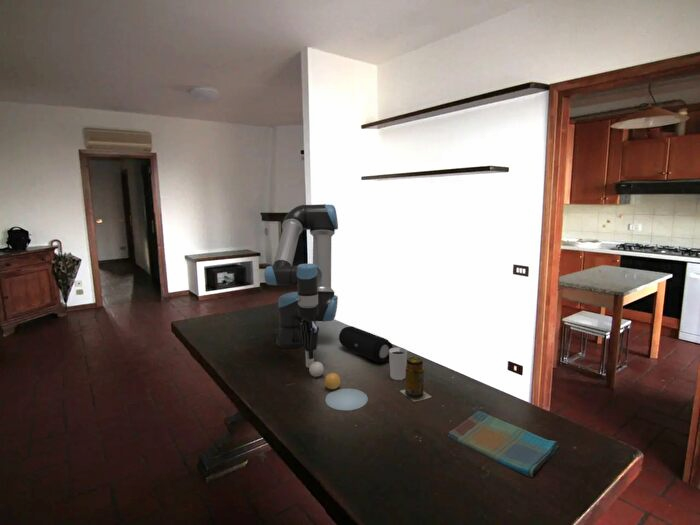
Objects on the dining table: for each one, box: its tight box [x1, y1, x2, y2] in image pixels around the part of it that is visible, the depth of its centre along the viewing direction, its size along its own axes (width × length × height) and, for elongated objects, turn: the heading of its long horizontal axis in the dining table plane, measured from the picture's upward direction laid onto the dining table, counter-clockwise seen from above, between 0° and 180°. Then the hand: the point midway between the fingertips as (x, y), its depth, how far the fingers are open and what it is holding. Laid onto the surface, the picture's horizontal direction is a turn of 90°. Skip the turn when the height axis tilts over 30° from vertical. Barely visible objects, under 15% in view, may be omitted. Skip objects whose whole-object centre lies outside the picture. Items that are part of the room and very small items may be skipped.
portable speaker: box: [338, 326, 394, 363], centre depth 166 cm, size 26×10×10 cm, turn 39°
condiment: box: [399, 356, 432, 403], centre depth 131 cm, size 7×8×12 cm
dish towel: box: [447, 410, 560, 478], centre depth 106 cm, size 17×23×2 cm
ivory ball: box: [308, 361, 325, 378], centre depth 147 cm, size 6×6×6 cm
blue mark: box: [325, 388, 369, 412], centre depth 130 cm, size 14×14×1 cm
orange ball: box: [324, 372, 342, 390], centre depth 137 cm, size 6×6×6 cm
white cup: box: [388, 346, 408, 381], centre depth 145 cm, size 7×7×10 cm
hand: (309, 366), depth 149 cm, fingers closed
